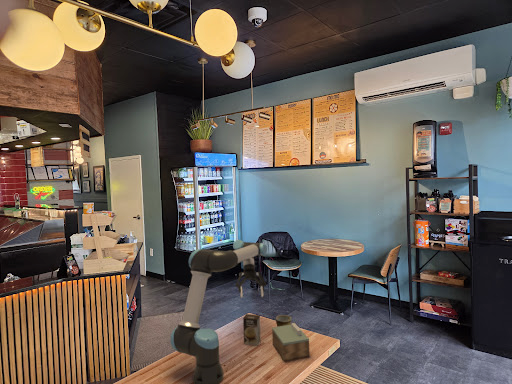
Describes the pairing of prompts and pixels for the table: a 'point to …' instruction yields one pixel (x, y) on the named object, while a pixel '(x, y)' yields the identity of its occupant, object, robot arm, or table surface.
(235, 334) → the table surface
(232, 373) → the table surface
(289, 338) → the lid
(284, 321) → the ceramic cup
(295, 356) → the toolbox
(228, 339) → the table surface
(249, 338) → the coffee box
